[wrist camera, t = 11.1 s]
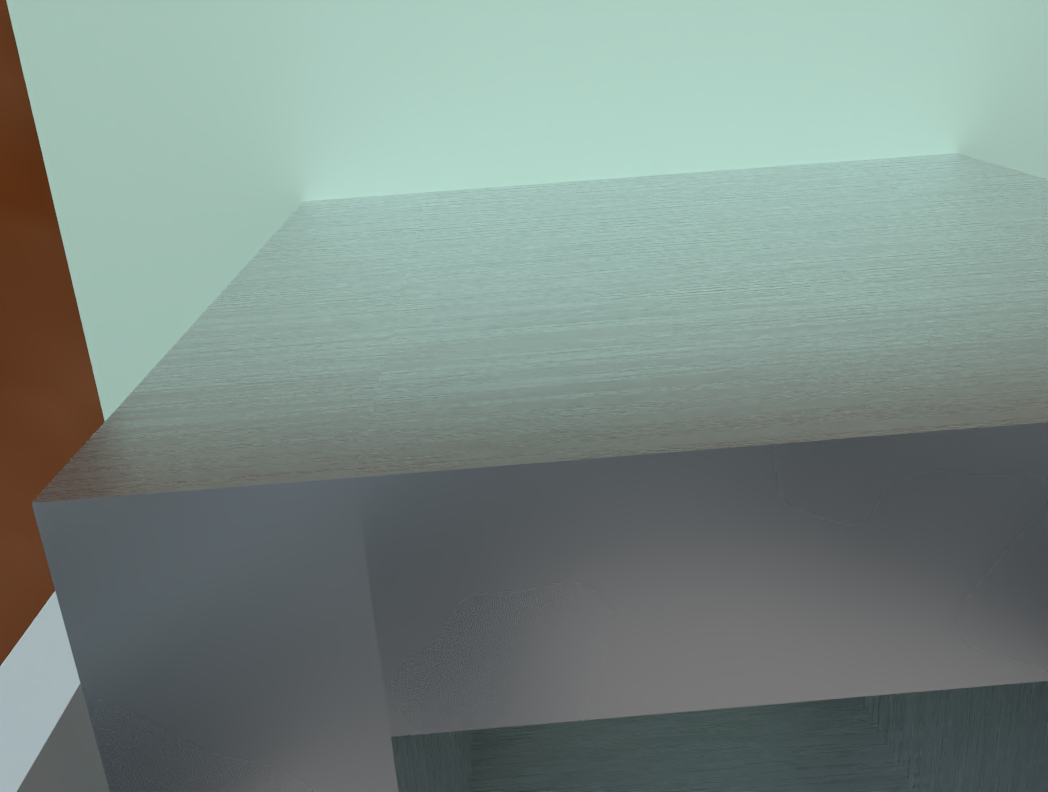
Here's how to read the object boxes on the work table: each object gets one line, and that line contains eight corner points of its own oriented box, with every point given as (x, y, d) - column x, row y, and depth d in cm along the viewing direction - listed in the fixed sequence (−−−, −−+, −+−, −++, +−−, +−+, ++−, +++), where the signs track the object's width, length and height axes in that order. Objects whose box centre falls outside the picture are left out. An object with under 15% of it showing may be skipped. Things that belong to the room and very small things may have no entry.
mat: (226, 872, 17) (217, 902, 16) (17, -52, 12) (-7, -55, 11) (1060, 799, 17) (1080, 826, 16) (1210, -133, 12) (1247, -140, 11)
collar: (380, 735, 15) (289, 1452, 8) (304, 201, 12) (31, 503, 5) (909, 691, 15) (1332, 1348, 8) (956, 153, 12) (1705, 371, 5)
